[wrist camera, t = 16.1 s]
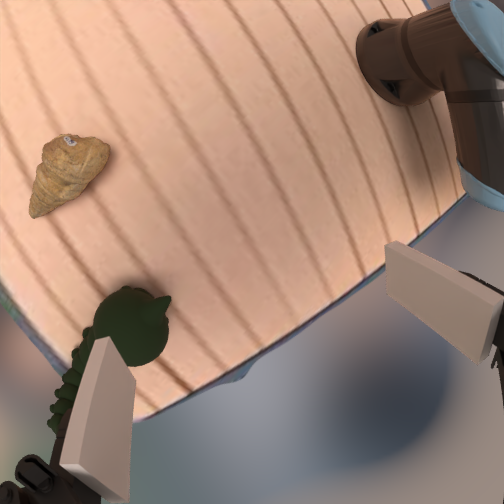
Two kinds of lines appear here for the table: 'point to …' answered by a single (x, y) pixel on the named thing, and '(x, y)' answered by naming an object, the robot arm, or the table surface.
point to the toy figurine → (117, 339)
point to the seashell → (66, 171)
